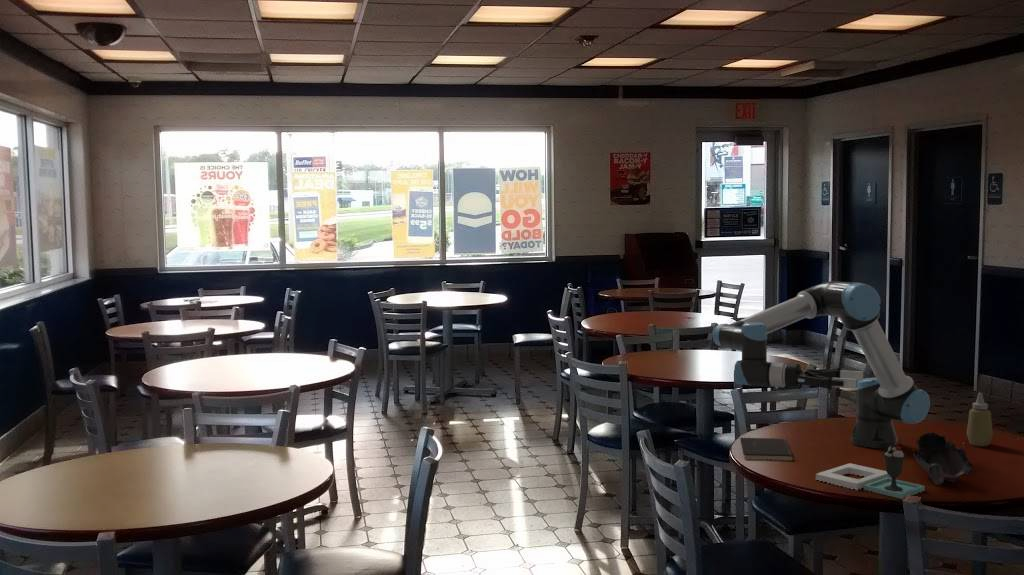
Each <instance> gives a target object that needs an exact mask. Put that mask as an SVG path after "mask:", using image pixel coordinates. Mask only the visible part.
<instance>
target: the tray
mask: <svg viewBox="0 0 1024 575" xmlns="http://www.w3.org/2000/svg"><path fill="white" fill-rule="evenodd" d="M891 483H892V477H891V478H887V477H886V478H883V479H881V480H878V481H875V482H872V483H869V484H866V485H864V488H863V490H864V491H867V490H868V491H867V492H871V491H872V492H871V493H874V494H879V495H882V496H883V495H884V496H889V497H892V498H896V499H900V500H904V499H905V498H904V497H905V496H908V495H912V496H914V495H917V494H920V493H923V492H925V491H924V490H925V489H926V488H925V487H926V486H925V485H922V484H917V483H914V482H913V483H912V482H908V481H905V480H899V479H896V485H897V486H898V487H901V488H902V489H903V490H902V491H890V490H886V489H885V487H886V486H890V485H891ZM922 491H923V492H922ZM919 492H920V493H919ZM903 498H904V499H903Z"/></svg>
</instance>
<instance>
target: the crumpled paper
mask: <svg viewBox="0 0 1024 575" xmlns="http://www.w3.org/2000/svg"><path fill="white" fill-rule="evenodd" d="M946 437H947V434H945V435H943V436H941V435H939V434H938V433H936V432H934V431H932V432H929V433H923V435H920V436H919V437H918V438H917V439H916V441H915V444H916V445H918V450H917V451H916V449H912V452H913V453H912V454H913V456H914V459H915V461H916V462H917V463H918V464H919V466H920V468H922V469H924V471H926V472H927V473H928V477H929V478H930V479H931V482H933V483H934V484H935V485H942V484H943V483H944V481H948V482H951V483H956V481H957V479H958V477H959V476H961V475H963V474H966V475H970V474H971V473H972V472H973V463H971V462H970V461H969V459H968V456H967V454H966V451H965V450H964V449H963V448H957V447H956V445H955V443H954V442H952V441H951V440H949V441H947V439H946ZM971 457H972V456H971V455H970V458H971ZM953 481H954V482H953Z"/></svg>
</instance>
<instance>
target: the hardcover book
mask: <svg viewBox="0 0 1024 575" xmlns="http://www.w3.org/2000/svg"><path fill="white" fill-rule="evenodd" d="M739 439H740V444H741V449H742V453H743V457H744V458H743V459H744V460H756V461H757V460H759V461H761V459H762V461H763V459H764V460H765V461H770V460H769V459H772V460H771V461H792V460H793V461H794V458H795V457H794V455H793V452H792V450H791V448H790V445H789V442H788V439H786V438H776V437H775V438H771V437H770V438H769V437H740V438H739ZM766 459H768V460H766Z"/></svg>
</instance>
